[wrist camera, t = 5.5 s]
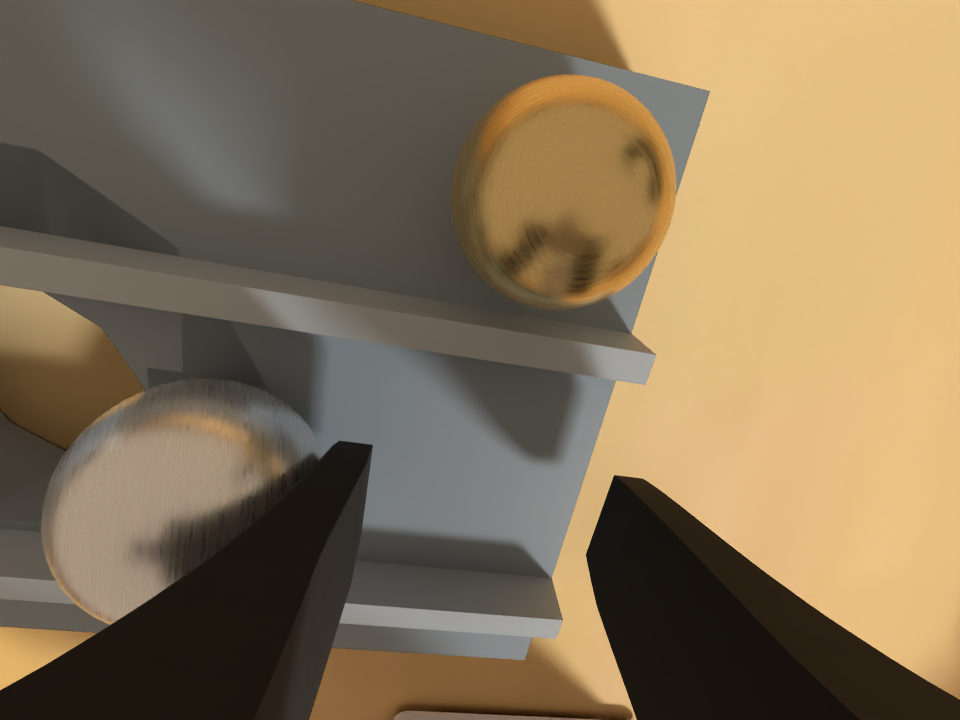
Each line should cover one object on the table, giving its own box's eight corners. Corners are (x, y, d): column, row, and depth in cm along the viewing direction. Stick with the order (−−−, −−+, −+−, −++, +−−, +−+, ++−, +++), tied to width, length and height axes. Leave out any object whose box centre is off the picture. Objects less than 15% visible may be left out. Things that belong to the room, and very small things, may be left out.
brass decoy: (649, 117, 8) (771, 85, 5) (597, 297, 9) (671, 356, 6) (466, 74, 8) (482, 10, 5) (435, 268, 9) (432, 316, 6)
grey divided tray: (649, 109, 10) (767, 73, 7) (512, 585, 15) (534, 718, 11) (-284, -118, 8) (-925, -374, 4) (-89, 533, 13) (-304, 679, 9)
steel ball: (374, 479, 7) (-21, 493, 5) (321, 660, 8) (0, 734, 6) (328, 350, 10) (80, 325, 8) (295, 498, 11) (78, 510, 9)
